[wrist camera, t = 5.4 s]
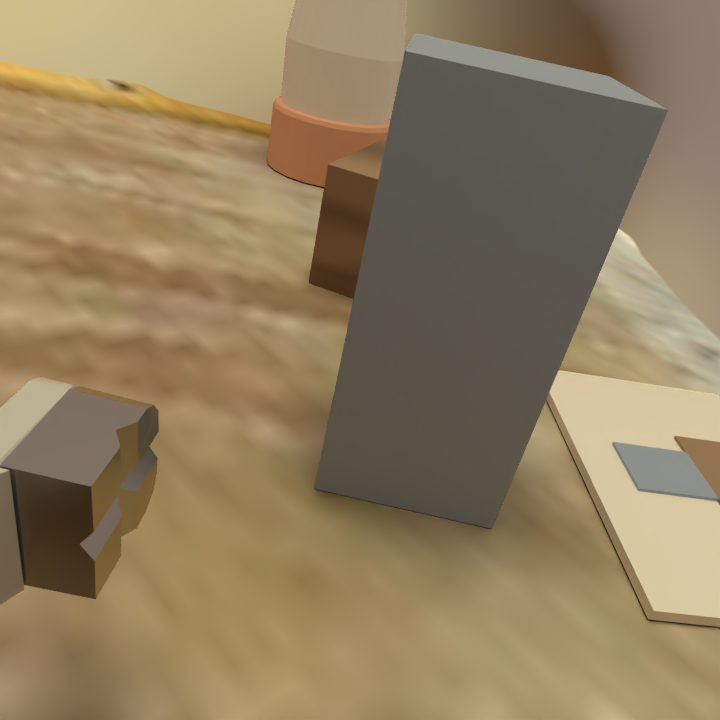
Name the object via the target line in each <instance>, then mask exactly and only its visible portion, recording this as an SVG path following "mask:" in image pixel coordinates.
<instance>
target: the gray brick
mask: <svg viewBox="0 0 720 720" xmlns="http://www.w3.org/2000/svg"><path fill="white" fill-rule="evenodd" d="M667 112H668V110H667V109H666V108H664V107H662V106H660V105H658V104H657V103H655V102H653V101H651V100H649V99H648V98H646V97H644V96H643V95H641V94H639V93H637V92H635V91H634V90H632V89H630V88H628V87H627V86H625V85H623V84H621V83H620V82H618V81H616V80H614V79H613V78H611V77H609V76H605V75H600V74H596V73H591V72H586V71H582V70H578V69H574V68H569V67H565V66H560V65H556V64H551V63H547V62H542V61H538V60H533V59H529V58H525V57H520V56H516V55H511V54H506V53H502V52H498V51H493V50H489V49H485V48H480V47H476V46H471V45H466V44H462V43H458V42H453V41H449V40H445V39H440V38H436V37H431V36H427V35H422V34H418V33H415V35H414V37H413V38H412V40H411V42H410V43H409V45H408V46H407V48H406V50H405V53H404V57H403V62H402V67H401V72H400V77H399V82H398V86H397V91H396V96H395V101H394V106H393V111H392V116H391V120H390V125H389V130H388V135H387V140H386V145H385V149H384V154H383V159H382V164H381V169H380V174H379V179H378V183H377V188H376V193H375V198H374V203H373V208H372V213H371V217H370V222H369V227H368V232H367V237H366V242H365V246H364V251H363V256H362V261H361V266H360V271H359V276H358V280H357V285H356V290H355V295H354V300H353V305H352V309H351V314H350V319H349V324H348V329H347V334H346V339H345V343H344V348H343V353H342V358H341V363H340V368H339V372H338V377H337V382H336V387H335V392H334V397H333V402H332V406H331V411H330V416H329V421H328V426H327V431H326V435H325V440H324V445H323V450H322V455H321V460H320V465H319V469H318V474H317V479H316V484H315V489H317V490H322V491H326V492H331V493H335V494H339V495H344V496H348V497H353V498H357V499H362V500H366V501H371V502H375V503H379V504H384V505H388V506H393V507H397V508H402V509H406V510H410V511H415V512H419V513H424V514H428V515H433V516H437V517H441V518H446V519H450V520H455V521H459V522H464V523H468V524H472V525H477V526H481V527H486V528H490V529H492V527H493V524H494V522H495V520H496V517H497V515H498V513H499V510H500V508H501V505H502V503H503V501H504V498H505V496H506V494H507V491H508V489H509V487H510V484H511V482H512V479H513V477H514V475H515V472H516V470H517V468H518V465H519V463H520V460H521V458H522V456H523V453H524V451H525V449H526V446H527V444H528V441H529V439H530V437H531V434H532V432H533V430H534V427H535V425H536V422H537V420H538V418H539V415H540V413H541V411H542V408H543V406H544V403H545V401H546V399H547V396H548V394H549V392H550V389H551V387H552V385H553V382H554V380H555V377H556V375H557V373H558V370H559V368H560V366H561V363H562V361H563V358H564V356H565V354H566V351H567V349H568V347H569V344H570V342H571V339H572V337H573V335H574V332H575V330H576V328H577V325H578V323H579V320H580V318H581V316H582V313H583V311H584V309H585V306H586V304H587V301H588V299H589V297H590V294H591V292H592V290H593V287H594V285H595V283H596V280H597V278H598V275H599V273H600V271H601V268H602V266H603V264H604V261H605V259H606V256H607V254H608V252H609V249H610V247H611V245H612V242H613V240H614V237H615V235H616V233H617V230H618V228H619V226H620V223H621V221H622V218H623V216H624V214H625V211H626V209H627V207H628V204H629V202H630V199H631V197H632V195H633V192H634V190H635V188H636V185H637V183H638V181H639V178H640V176H641V173H642V171H643V169H644V166H645V164H646V161H647V159H648V157H649V154H650V152H651V150H652V147H653V145H654V142H655V140H656V138H657V135H658V133H659V131H660V128H661V126H662V123H663V121H664V119H665V116H666V114H667Z"/></svg>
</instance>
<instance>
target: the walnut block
mask: <svg viewBox="0 0 720 720" xmlns="http://www.w3.org/2000/svg"><path fill="white" fill-rule="evenodd" d="M386 140H387V138H385V139H383V140H381V141H378V142H376V143H374V144H372V145H370V146H367V147H365V148H363V149H361V150H359V151H356V152H354V153H352V154H350V155H347V156H345V157H343V158H341V159H339V160H336V161H334V162H332V163H330V164H328V168H327V174H326V180H325V186H324V192H323V199H322V205H321V211H320V217H319V223H318V229H317V235H316V241H315V247H314V253H313V259H312V265H311V271H310V278H309V283H310V284H313V285H316V286H319V287H321V288H324V289H327V290H330V291H333V292H336V293H339V294H342V295H344V296H347V297H350V298H353V299H354V295H355V290H356V285H357V280H358V276H359V271H360V266H361V261H362V256H363V251H364V246H365V242H366V237H367V232H368V227H369V222H370V217H371V213H372V208H373V203H374V198H375V193H376V188H377V183H378V179H379V174H380V169H381V164H382V159H383V154H384V149H385V145H386Z"/></svg>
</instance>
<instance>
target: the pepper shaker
mask: <svg viewBox="0 0 720 720" xmlns="http://www.w3.org/2000/svg"><path fill="white" fill-rule="evenodd" d="M406 12H407V0H296V2H295V5H294V9H293V13H292V17H291V21H290V24H289V28H288V32H287V38H286V49H285V60H284V71H283V83H282V94H281V96H280V97H278V98H277V99H275V101H274V103H273V111H272V120H271V129H270V138H269V147H268V156H267V160H268V164H269V165H270V166H271V167H272V168H273V169H274V170H276V171H278V172H279V173H281V174H283V175H285V176H287V177H290V178H293V179H296V180H299V181H301V182H305V183H309V184H313V185H317V186H321V187H324V186H325V180H326V174H327V168H328V164H330V163H332V162H334V161H336V160H339V159H341V158H343V157H345V156H347V155H350V154H352V153H354V152H356V151H359V150H361V149H363V148H365V147H367V146H370V145H372V144H374V143H376V142H378V141H381V140H383V139H385V138H387V135H388V130H389V125H390V120H391V118H390V114H391V111H392V106H393V102H394V98H395V93H396V89H397V85H398V81H399V76H400V72H401V67H402V62H403V57H404V43H405V27H406Z"/></svg>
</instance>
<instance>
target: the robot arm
mask: <svg viewBox="0 0 720 720" xmlns="http://www.w3.org/2000/svg"><path fill="white" fill-rule="evenodd" d="M157 433H158V410H157V409H156V407H155V406H154V405H151V404H147V403H143V402H140V401H136V400H132V399H128V398H124V397H120V396H116V395H112V394H108V393H104V392H100V391H96V390H92V389H88V388H85V387H81V386H78V387H77V386H74V385H70V384H66V383H62V382H58V381H54V380H50V379H46V378H42V377H39V378H35V379H32V380H29V381H28V382H27V383H26V384H25V385H23V386H22V387H21V388H20V389H19V390H18V391H17V392H16V393H15V394H14V395H13V396H12V397H11V398H10V399H9V400H8V401H6V402H5V403H4V404H3V405H2V406H1V407H0V605H1V604H2V603H4V602H5V601H7V600H8V599H10V598H11V597H13V596H15V595H16V594H18V593H19V592H21V591H22V590H24V585H27V586H32V587H37V588H42V589H47V590H52V591H57V592H62V593H67V594H72V595H77V596H82V597H87V598H92V599H96V598H97V596H98V594H99V593H100V591H101V589H102V588H103V586H104V584H105V582H106V581H107V579H108V577H109V575H110V574H111V572H112V570H113V569H114V567H115V565H116V563H117V562H118V560H119V558H120V556H121V536H123V535H125V534H127V533H129V532H131V531H133V530H134V529H136V528H137V527H138V525H139V523H140V521H141V519H142V517H143V516H144V514H145V512H146V509H147V507H148V504H149V501H150V498H151V495H152V493H153V490H154V485H155V479H156V474H157V457H156V455H155V454H154V453H153V451H152V450H151V448H150V447H149V446H150V444H151V443H152V441H153V439H154V438H155V436H156V435H157Z"/></svg>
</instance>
